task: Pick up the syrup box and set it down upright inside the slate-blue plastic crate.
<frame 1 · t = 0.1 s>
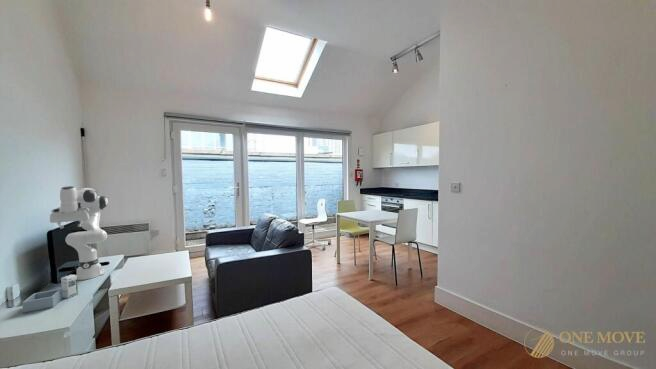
hand: (70, 227, 183), 48 cm above the table, fingers open, 8 cm apart
syrup box: (70, 296, 178), on the table
crate: (43, 305, 165), on the table
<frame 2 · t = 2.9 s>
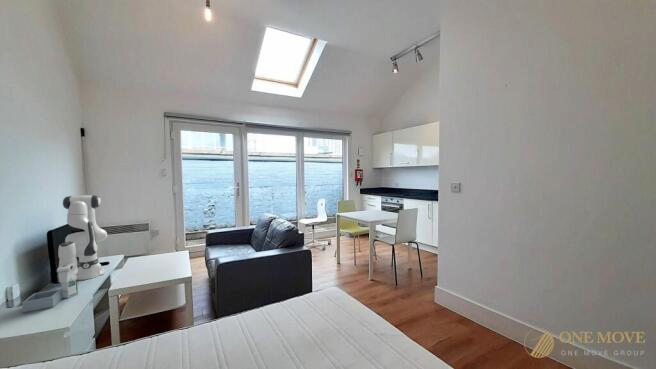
hand: (69, 284, 178), 9 cm above the table, fingers open, 8 cm apart
syrup box: (70, 296, 178), on the table, touching gripper
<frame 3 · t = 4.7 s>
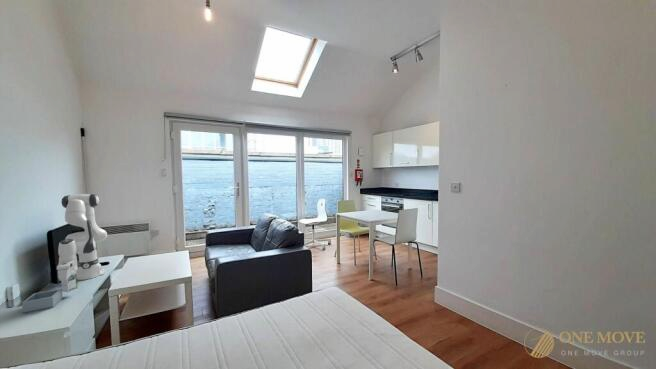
hand: (69, 281, 178), 10 cm above the table, fingers closed on syrup box, 8 cm apart
syrup box: (69, 290, 179), point 4 cm above the table, touching gripper
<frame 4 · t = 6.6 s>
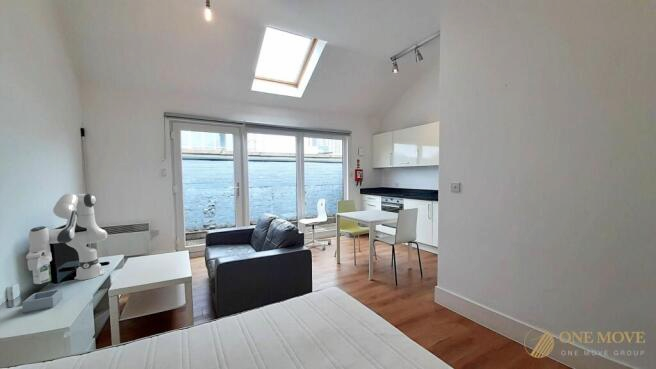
hand: (41, 272, 164), 22 cm above the table, fingers closed on syrup box, 8 cm apart
syrup box: (42, 282, 165), point 16 cm above the table, touching gripper
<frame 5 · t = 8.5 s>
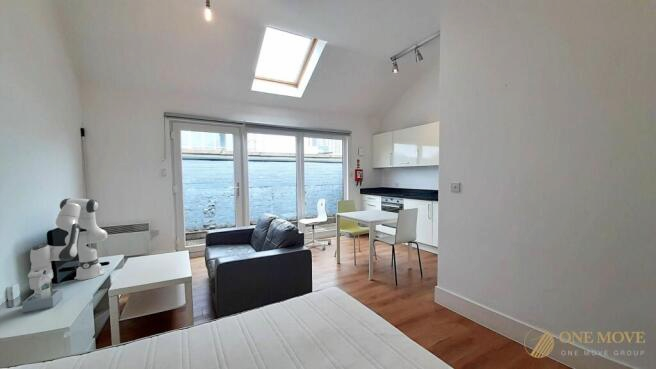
hand: (43, 290, 165), 10 cm above the table, fingers closed on syrup box, 8 cm apart
syrup box: (44, 300, 165), point 4 cm above the table, touching gripper
when the fingers open (9 cm above the table, at t = 9.6 s): syrup box drops 1 cm, resting on crate.
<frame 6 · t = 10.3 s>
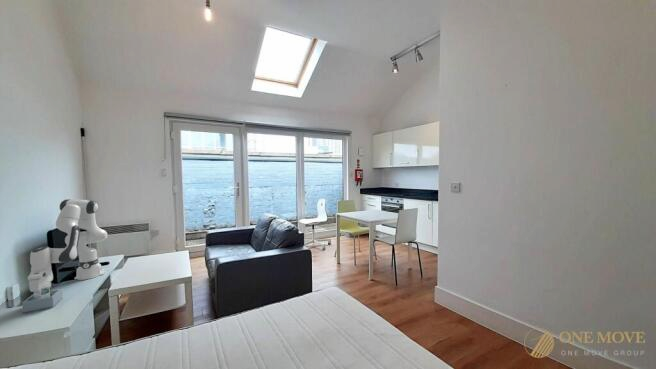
hand: (42, 292, 165), 9 cm above the table, fingers open, 8 cm apart
syrup box: (43, 304, 165), point 1 cm above the table, touching crate, gripper
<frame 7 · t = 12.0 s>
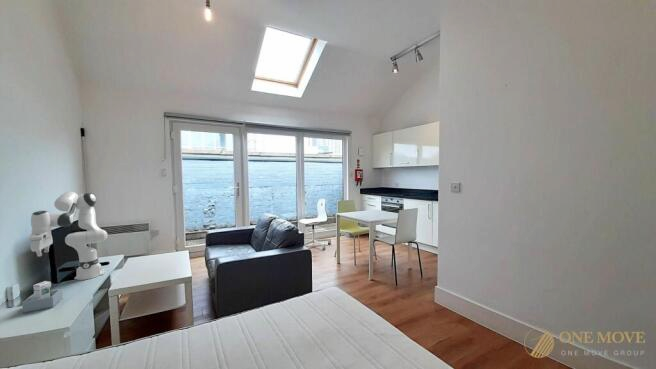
hand: (43, 254, 174), 31 cm above the table, fingers open, 8 cm apart
syrup box: (43, 304, 165), point 1 cm above the table, touching crate
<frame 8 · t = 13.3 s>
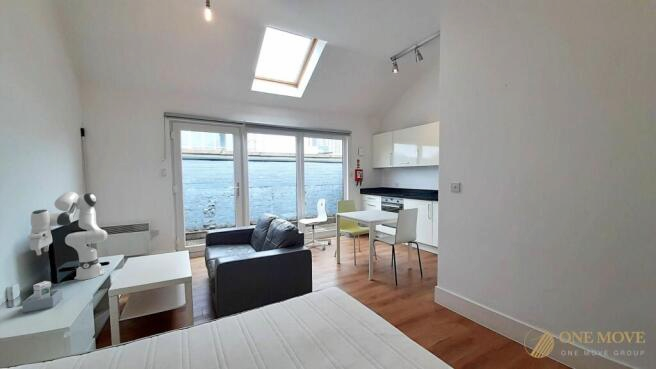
hand: (42, 253, 174), 32 cm above the table, fingers open, 8 cm apart
nothing on the table moved.
at the end: syrup box inside the target area on the crate (0.2 cm from its centre), point 0.6 cm above the crate's base; syrup box tilted 0°; the gripper is holding nothing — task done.
